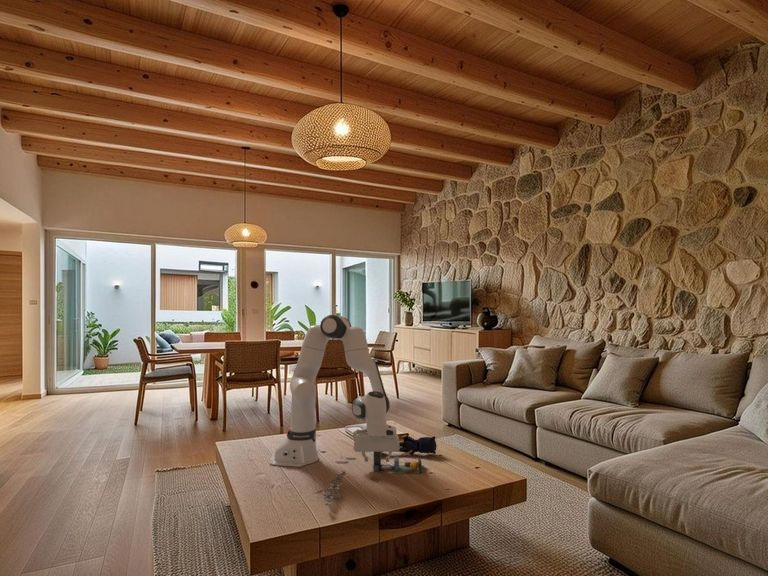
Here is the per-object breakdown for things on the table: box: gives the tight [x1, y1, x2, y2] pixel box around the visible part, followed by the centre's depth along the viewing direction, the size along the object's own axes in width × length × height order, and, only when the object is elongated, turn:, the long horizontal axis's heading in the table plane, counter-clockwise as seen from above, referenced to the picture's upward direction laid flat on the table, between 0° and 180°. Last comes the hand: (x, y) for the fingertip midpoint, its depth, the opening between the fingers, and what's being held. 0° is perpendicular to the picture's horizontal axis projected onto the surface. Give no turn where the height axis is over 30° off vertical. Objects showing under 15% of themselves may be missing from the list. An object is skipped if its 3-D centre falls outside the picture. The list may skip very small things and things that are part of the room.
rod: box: [372, 452, 400, 472], centre depth 199 cm, size 12×5×8 cm, turn 88°
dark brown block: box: [373, 465, 379, 473], centre depth 199 cm, size 2×6×3 cm, turn 178°
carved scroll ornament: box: [324, 470, 346, 506], centre depth 173 cm, size 5×30×4 cm, turn 174°
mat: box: [391, 464, 426, 475], centre depth 199 cm, size 14×10×1 cm
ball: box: [410, 460, 418, 469], centre depth 199 cm, size 4×4×4 cm
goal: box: [404, 453, 422, 473], centre depth 199 cm, size 7×9×5 cm
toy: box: [381, 434, 437, 457], centre depth 218 cm, size 10×9×30 cm
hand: (376, 461), depth 199 cm, fingers open, 8 cm apart
